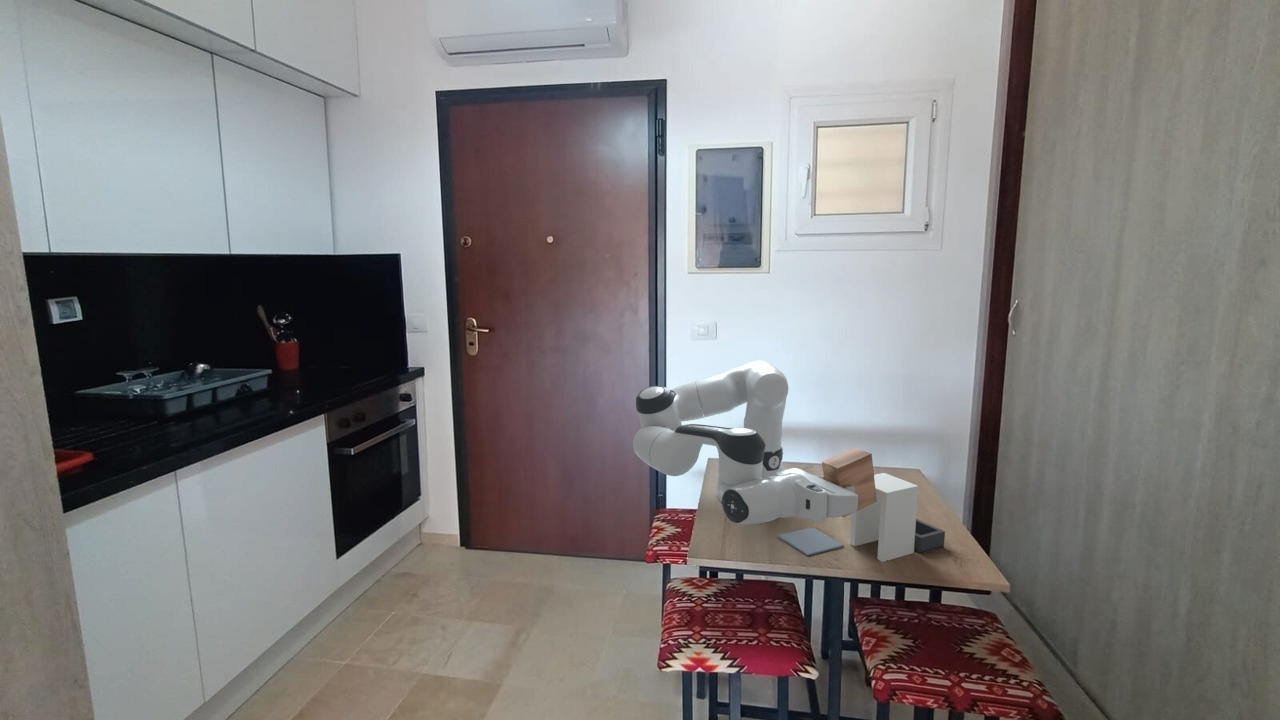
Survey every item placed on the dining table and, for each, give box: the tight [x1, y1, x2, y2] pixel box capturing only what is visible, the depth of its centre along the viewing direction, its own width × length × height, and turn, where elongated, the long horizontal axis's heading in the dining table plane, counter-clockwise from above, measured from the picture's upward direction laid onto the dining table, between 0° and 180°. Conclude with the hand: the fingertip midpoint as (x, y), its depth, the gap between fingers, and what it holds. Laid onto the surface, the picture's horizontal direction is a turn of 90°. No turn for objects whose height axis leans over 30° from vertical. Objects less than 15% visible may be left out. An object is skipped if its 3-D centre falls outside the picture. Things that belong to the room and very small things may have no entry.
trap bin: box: [914, 518, 946, 555], centre depth 146 cm, size 12×8×4 cm, turn 25°
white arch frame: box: [849, 472, 919, 563], centre depth 141 cm, size 10×10×16 cm
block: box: [821, 447, 877, 518], centre depth 135 cm, size 5×10×12 cm, turn 115°
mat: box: [777, 526, 845, 557], centre depth 145 cm, size 11×11×1 cm
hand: (841, 484), depth 134 cm, fingers closed on block, 5 cm apart
